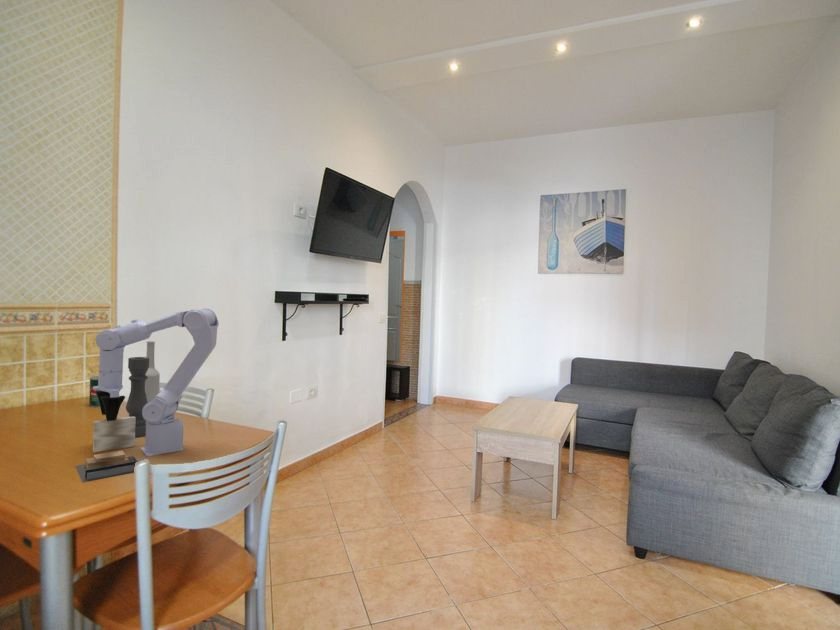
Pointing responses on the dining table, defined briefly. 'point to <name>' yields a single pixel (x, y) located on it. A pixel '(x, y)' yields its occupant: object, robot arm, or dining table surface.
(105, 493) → the dining table surface
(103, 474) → the rack
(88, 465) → the offcut stack
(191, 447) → the dining table surface
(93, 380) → the canned tomato
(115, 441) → the beige flat block
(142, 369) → the candle holder
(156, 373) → the bottle
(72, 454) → the dining table surface
